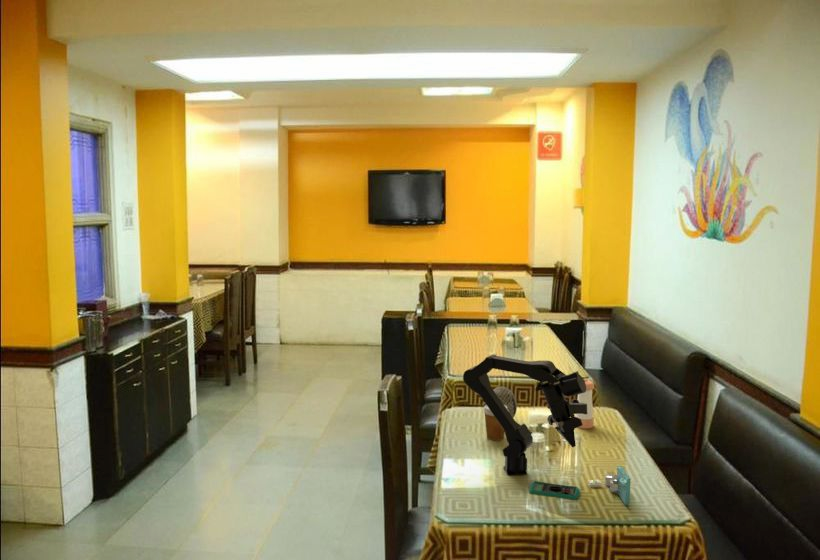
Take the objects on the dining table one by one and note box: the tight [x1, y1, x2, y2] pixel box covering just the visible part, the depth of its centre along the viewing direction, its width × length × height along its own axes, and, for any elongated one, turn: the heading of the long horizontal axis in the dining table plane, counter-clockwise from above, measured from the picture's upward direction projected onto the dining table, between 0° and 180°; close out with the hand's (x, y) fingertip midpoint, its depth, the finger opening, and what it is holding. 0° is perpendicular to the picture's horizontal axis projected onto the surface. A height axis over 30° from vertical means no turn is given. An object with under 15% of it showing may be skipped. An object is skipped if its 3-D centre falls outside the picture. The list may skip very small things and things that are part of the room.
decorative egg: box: [493, 385, 518, 419], centre depth 266 cm, size 12×12×15 cm
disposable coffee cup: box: [482, 404, 509, 441], centre depth 250 cm, size 10×10×12 cm
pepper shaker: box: [574, 378, 595, 430], centre depth 262 cm, size 7×7×19 cm
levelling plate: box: [587, 473, 617, 488], centre depth 201 cm, size 10×14×4 cm
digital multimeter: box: [529, 480, 581, 501], centre depth 202 cm, size 7×15×3 cm, turn 71°
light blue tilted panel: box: [609, 465, 632, 506], centre depth 198 cm, size 12×4×8 cm, turn 179°
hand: (573, 446), depth 209 cm, fingers closed
